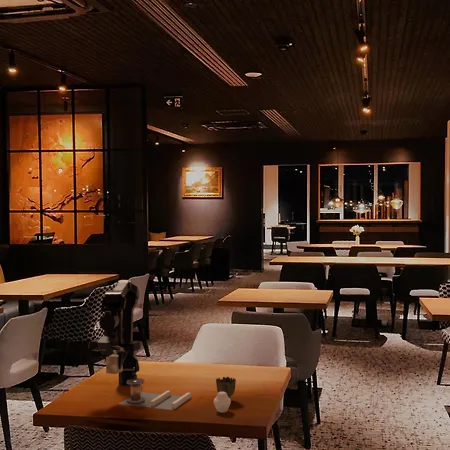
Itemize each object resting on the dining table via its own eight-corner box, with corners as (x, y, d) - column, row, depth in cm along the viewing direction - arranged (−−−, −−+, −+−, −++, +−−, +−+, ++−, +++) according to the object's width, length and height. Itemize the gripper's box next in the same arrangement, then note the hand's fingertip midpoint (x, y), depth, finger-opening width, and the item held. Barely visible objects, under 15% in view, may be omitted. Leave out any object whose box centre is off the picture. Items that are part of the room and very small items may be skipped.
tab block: (106, 373, 234) (106, 356, 234) (113, 370, 239) (112, 354, 239) (115, 374, 233) (115, 357, 233) (122, 371, 238) (122, 354, 238)
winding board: (118, 407, 231) (117, 398, 231) (139, 394, 246) (139, 387, 246) (173, 413, 223) (173, 404, 223) (191, 400, 238) (191, 392, 238)
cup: (221, 404, 233) (221, 382, 233) (212, 399, 240) (212, 378, 239) (239, 401, 237) (239, 380, 236) (230, 396, 243) (230, 375, 243)
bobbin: (123, 402, 232) (123, 381, 232) (132, 397, 238) (132, 377, 238) (139, 404, 230) (139, 383, 230) (147, 399, 236) (147, 378, 236)
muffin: (233, 412, 224) (233, 392, 223) (216, 414, 222) (216, 394, 222) (228, 407, 230) (227, 388, 229) (211, 409, 228) (211, 389, 228)
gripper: (80, 328, 232) (80, 371, 232) (126, 331, 225) (126, 375, 225) (96, 324, 242) (96, 365, 242) (140, 326, 236) (141, 368, 236)
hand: (114, 368), depth 236 cm, fingers closed on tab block, 4 cm apart
